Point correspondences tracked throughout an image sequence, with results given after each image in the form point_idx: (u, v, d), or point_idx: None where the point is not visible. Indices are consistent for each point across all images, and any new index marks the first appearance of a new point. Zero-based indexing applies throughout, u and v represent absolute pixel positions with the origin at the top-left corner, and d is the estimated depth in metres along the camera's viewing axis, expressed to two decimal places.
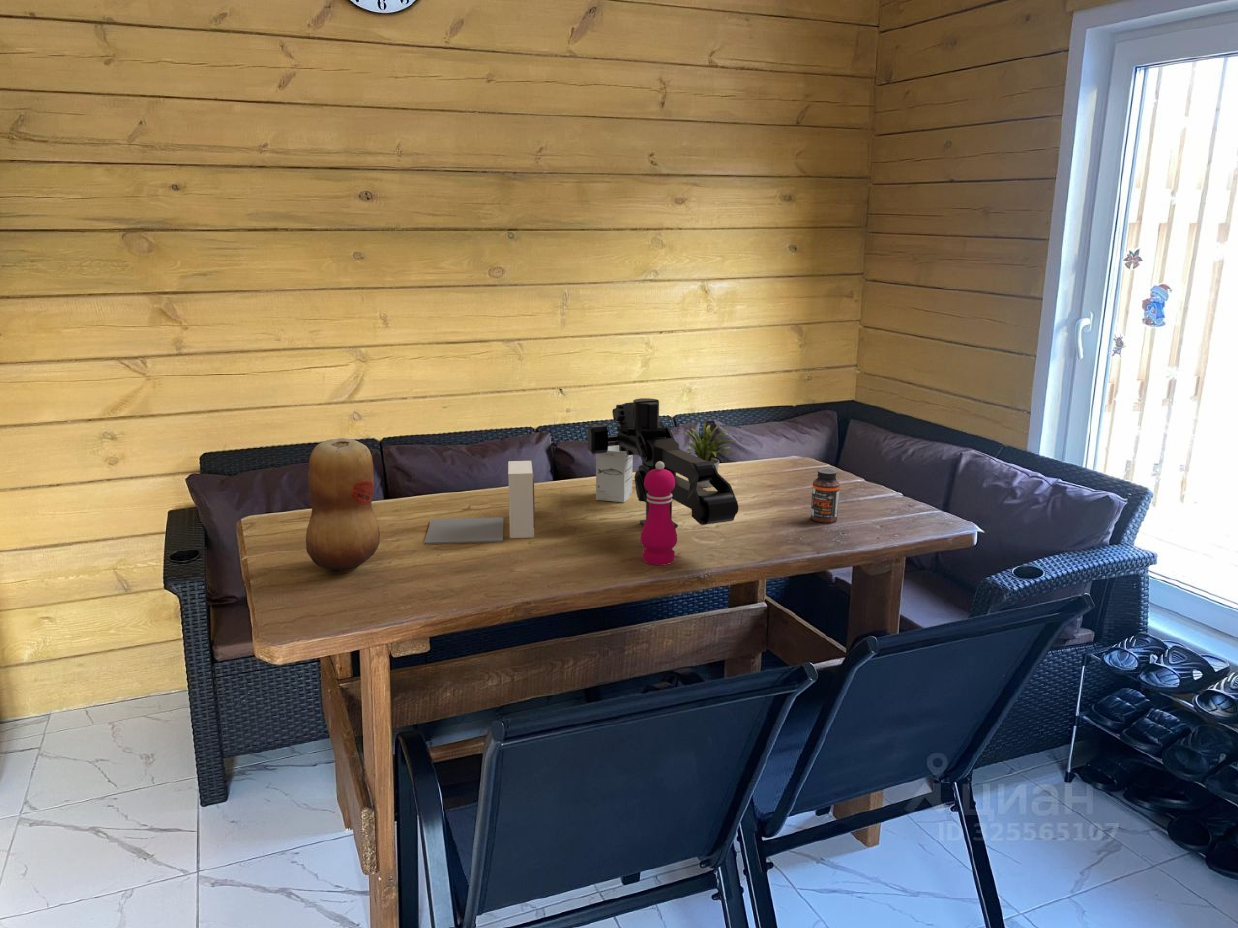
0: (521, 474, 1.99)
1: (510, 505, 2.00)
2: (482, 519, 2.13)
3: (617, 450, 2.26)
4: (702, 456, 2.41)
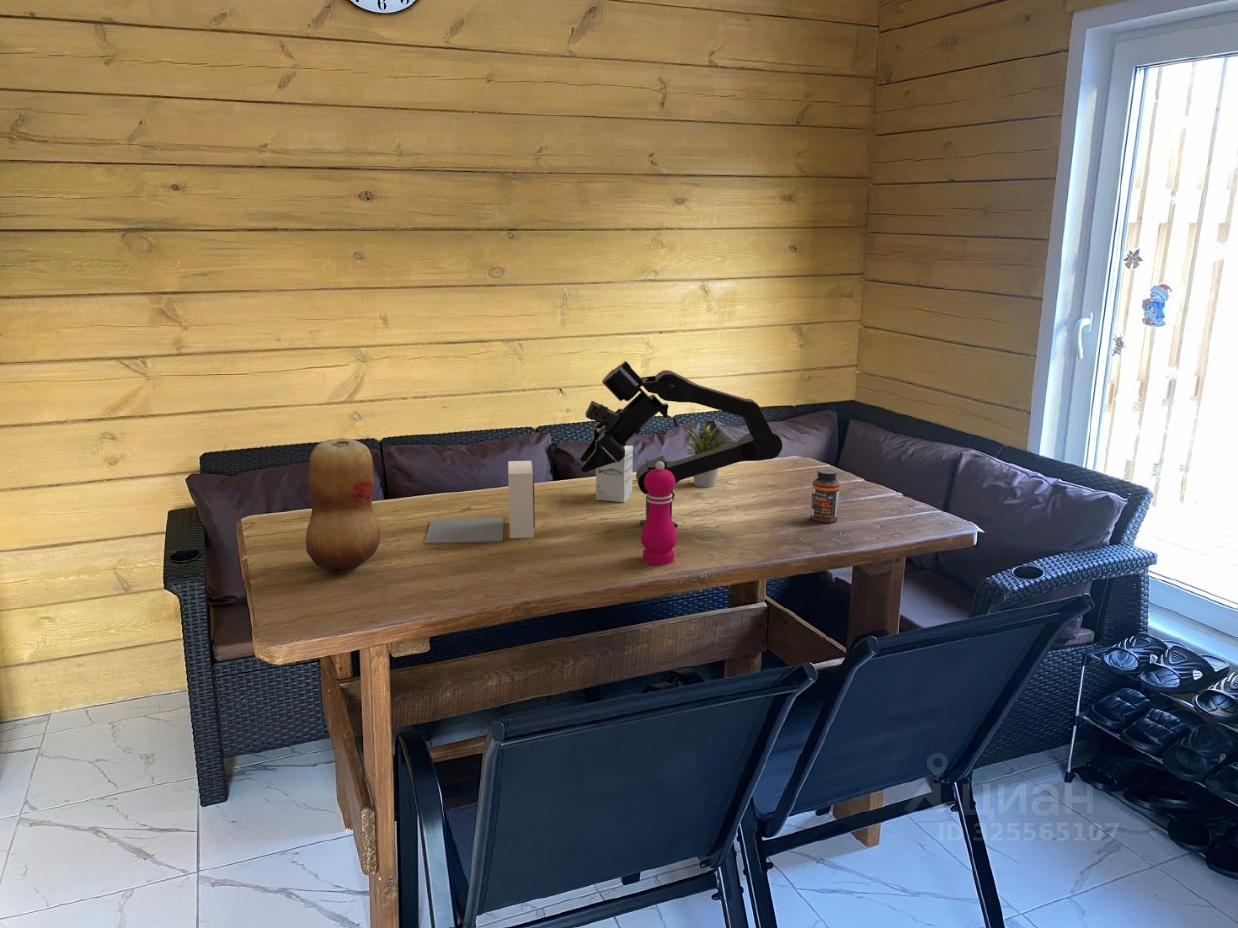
0: (521, 474, 1.99)
1: (510, 505, 2.00)
2: (482, 519, 2.13)
3: None
4: None
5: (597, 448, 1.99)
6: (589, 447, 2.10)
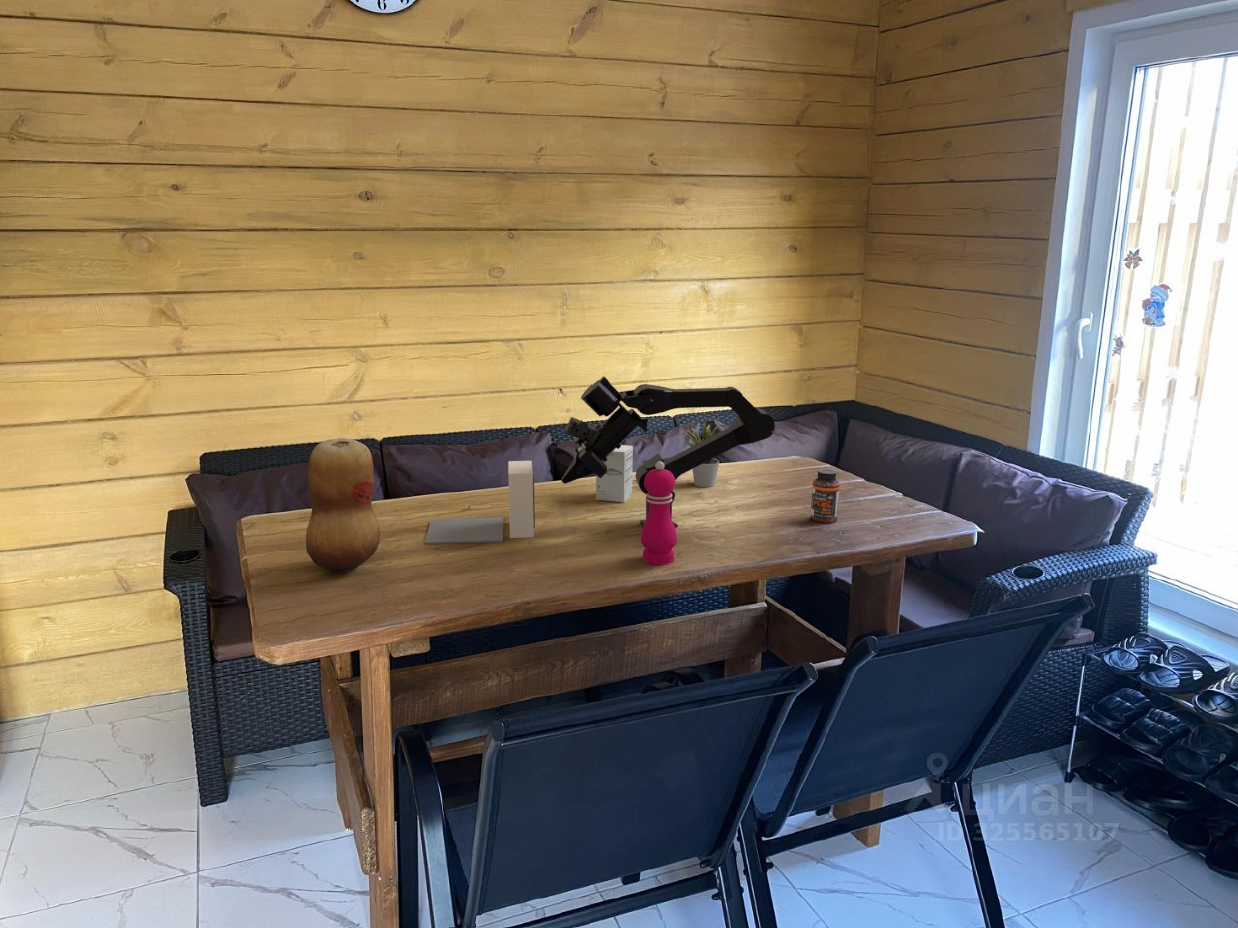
0: (521, 474, 1.99)
1: (510, 505, 2.00)
2: (482, 519, 2.13)
3: (617, 450, 2.26)
4: None
5: (577, 459, 2.03)
6: None
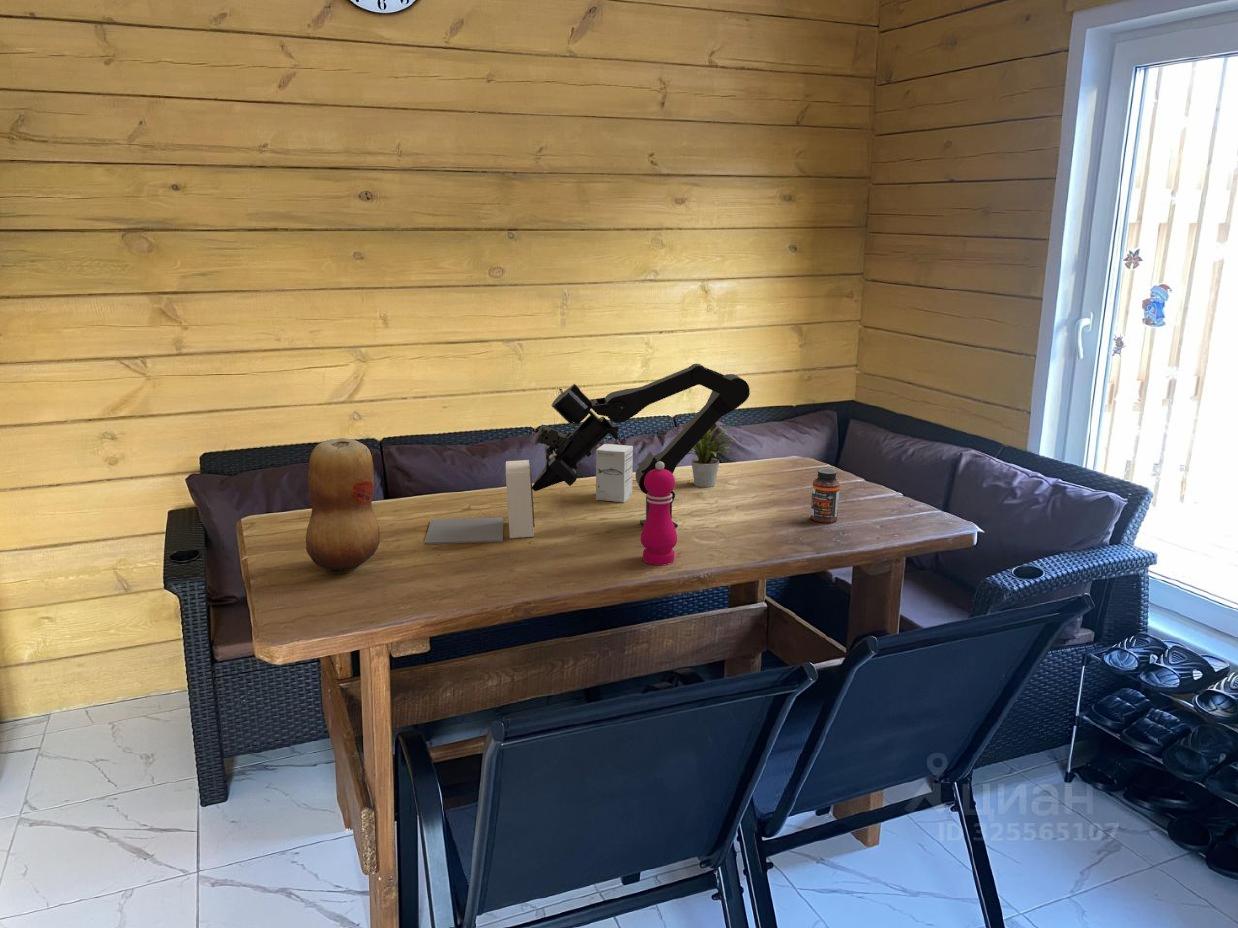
0: (518, 474, 1.99)
1: (509, 505, 2.00)
2: (482, 519, 2.13)
3: (617, 450, 2.26)
4: (702, 456, 2.41)
5: (547, 467, 2.02)
6: None
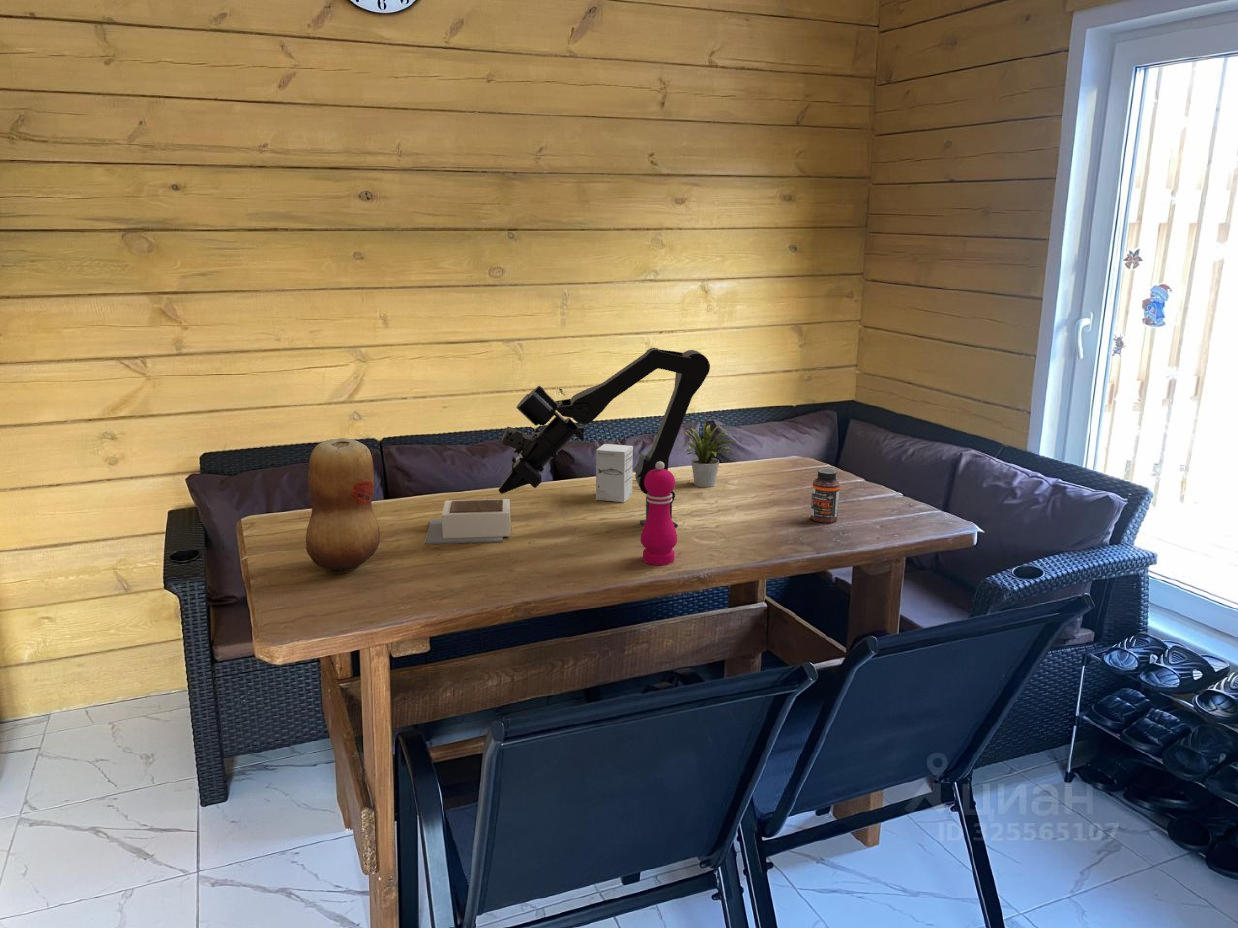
0: (443, 525, 2.00)
1: (475, 535, 2.01)
2: None
3: (617, 450, 2.26)
4: (702, 456, 2.41)
5: (513, 469, 2.02)
6: None
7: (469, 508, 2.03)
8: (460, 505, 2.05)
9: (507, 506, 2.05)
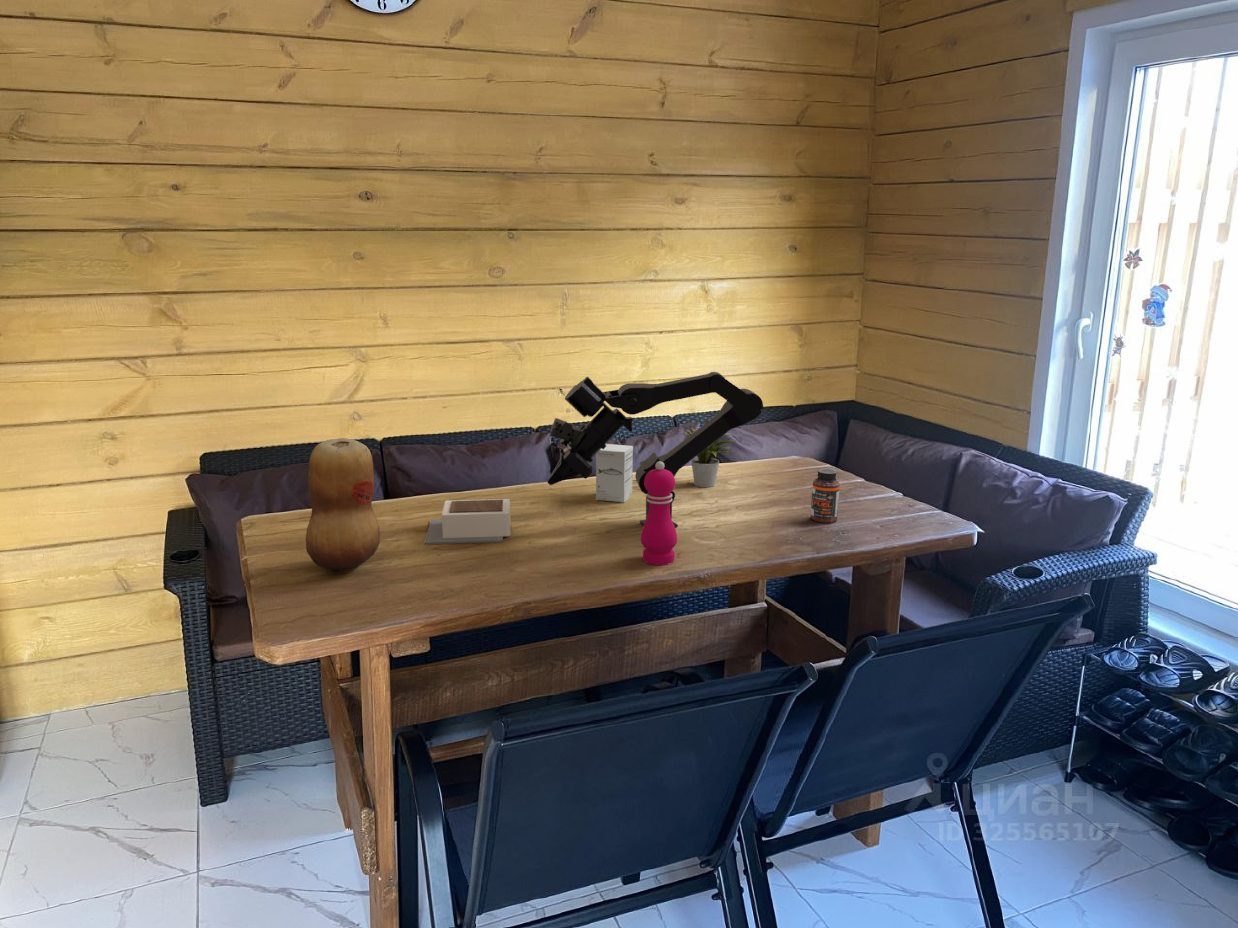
0: (443, 525, 2.00)
1: (475, 535, 2.01)
2: None
3: (617, 450, 2.26)
4: (702, 456, 2.41)
5: (562, 460, 2.02)
6: None
7: (469, 508, 2.03)
8: (460, 505, 2.05)
9: (507, 506, 2.05)
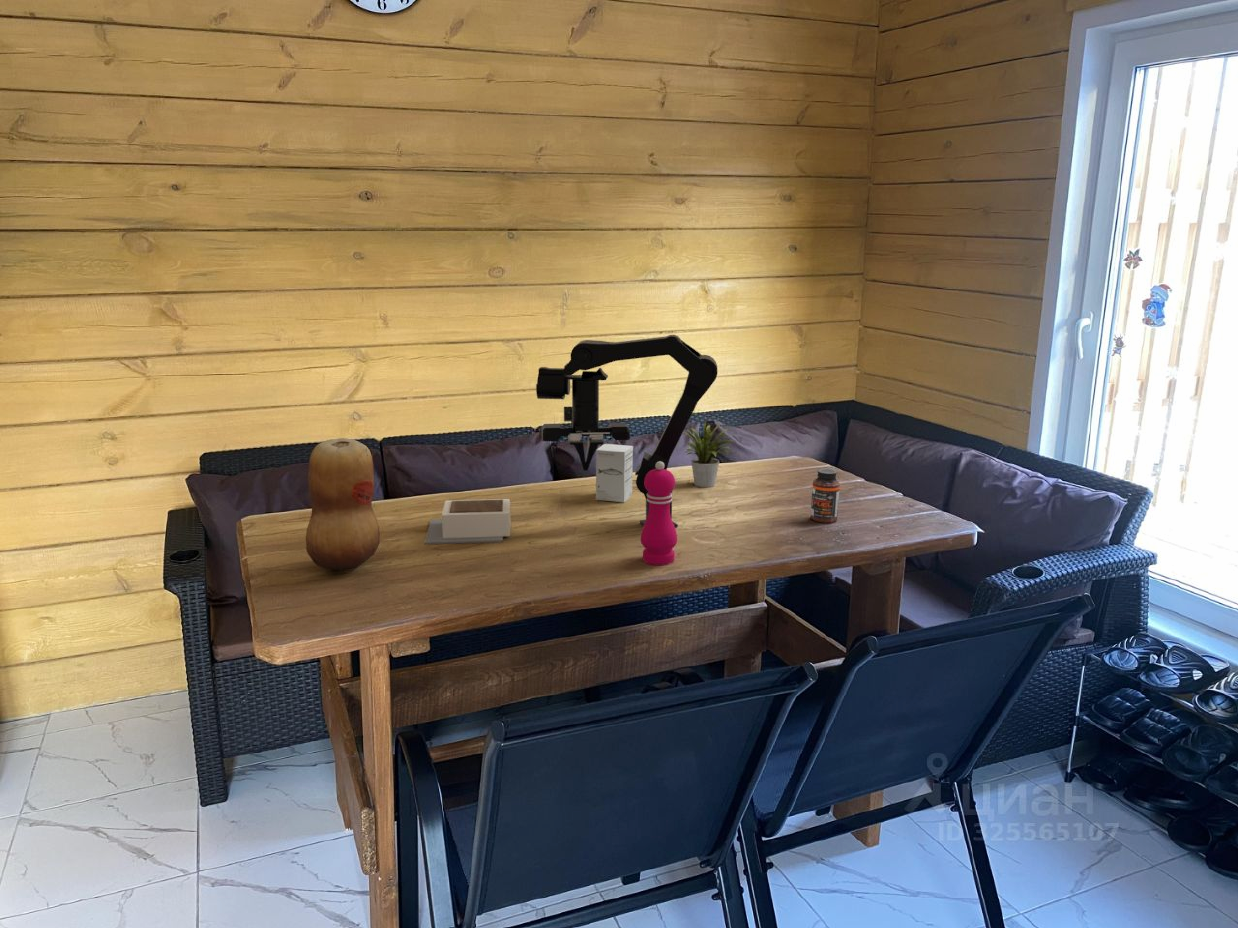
0: (443, 525, 2.00)
1: (475, 535, 2.01)
2: None
3: (617, 450, 2.26)
4: (702, 456, 2.41)
5: None
6: (586, 454, 2.09)
7: (469, 508, 2.03)
8: (460, 505, 2.05)
9: (507, 506, 2.05)
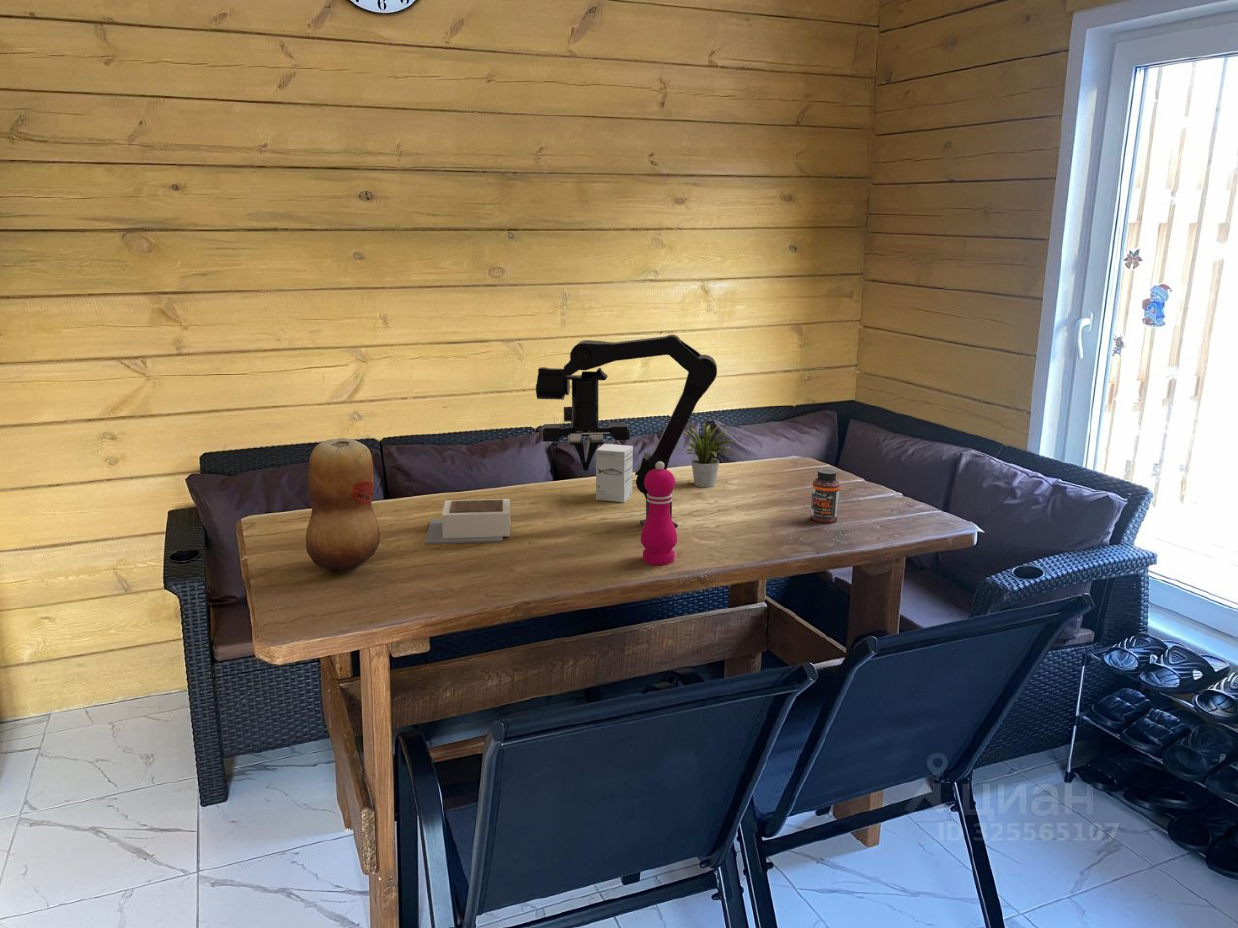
0: (443, 525, 2.00)
1: (475, 535, 2.01)
2: None
3: (617, 450, 2.26)
4: (702, 456, 2.41)
5: None
6: (586, 454, 2.09)
7: (469, 508, 2.03)
8: (460, 505, 2.05)
9: (507, 506, 2.05)
